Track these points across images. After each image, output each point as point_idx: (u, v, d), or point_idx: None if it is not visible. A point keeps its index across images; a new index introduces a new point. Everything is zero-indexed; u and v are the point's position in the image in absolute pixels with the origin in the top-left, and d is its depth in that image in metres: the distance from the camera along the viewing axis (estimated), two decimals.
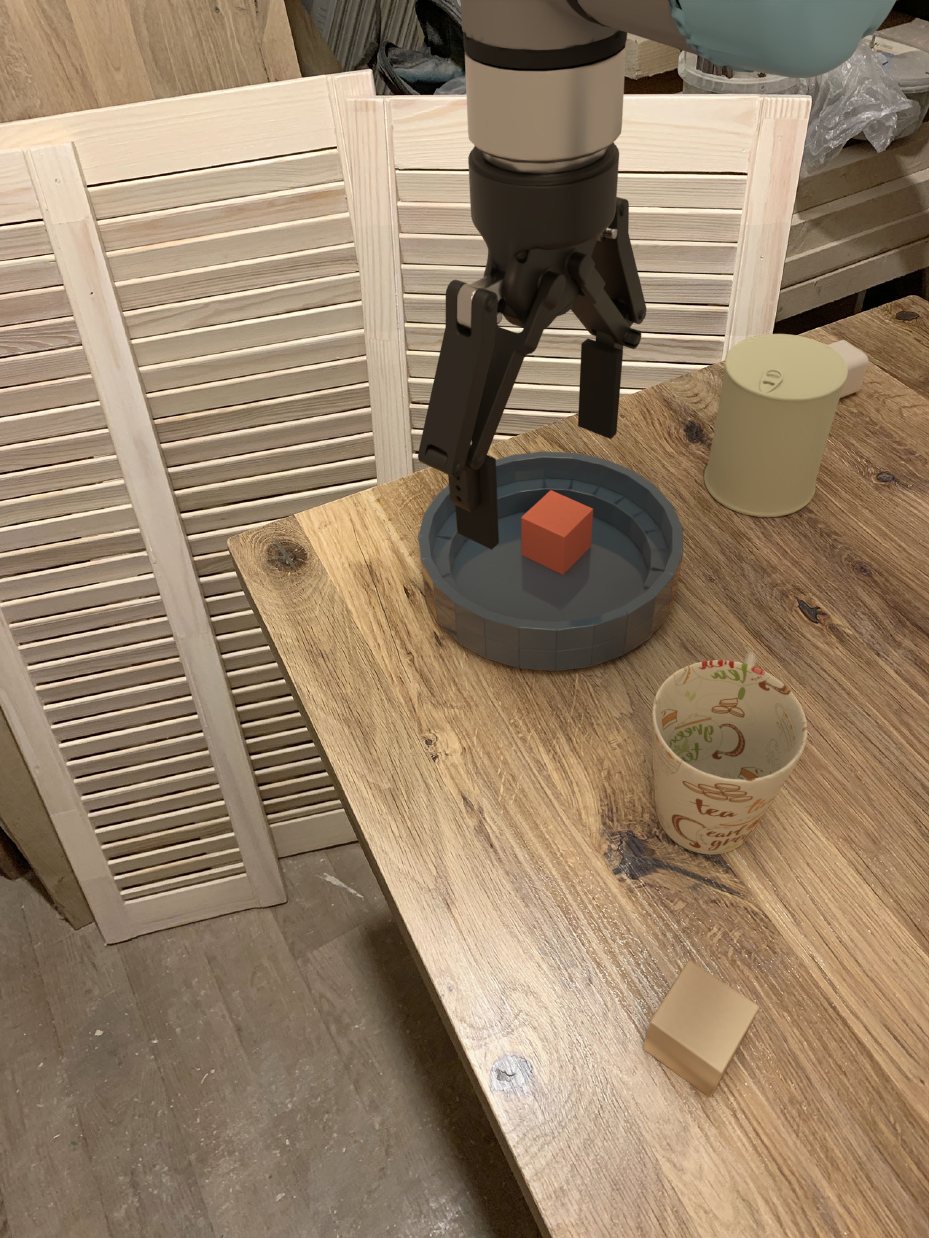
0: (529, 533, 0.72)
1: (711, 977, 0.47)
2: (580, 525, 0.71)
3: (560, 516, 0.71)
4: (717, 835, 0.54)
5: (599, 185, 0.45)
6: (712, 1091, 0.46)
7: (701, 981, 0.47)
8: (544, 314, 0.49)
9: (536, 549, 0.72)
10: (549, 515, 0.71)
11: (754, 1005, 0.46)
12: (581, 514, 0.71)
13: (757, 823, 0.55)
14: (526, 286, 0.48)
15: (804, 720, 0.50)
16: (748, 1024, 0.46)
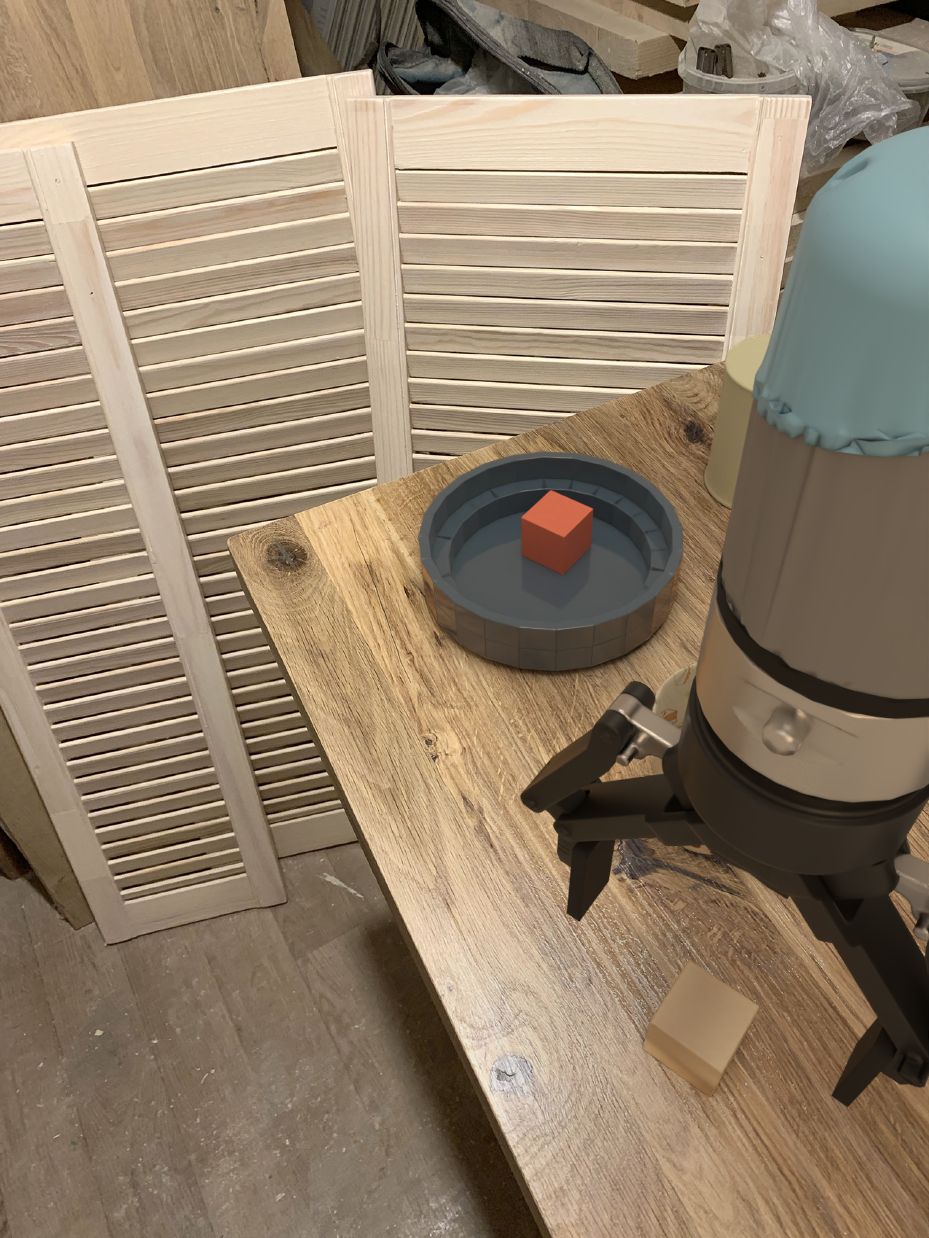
0: (529, 533, 0.72)
1: (711, 977, 0.47)
2: (580, 525, 0.71)
3: (560, 516, 0.71)
4: None
5: None
6: (712, 1091, 0.46)
7: (701, 981, 0.47)
8: None
9: (536, 549, 0.72)
10: (549, 515, 0.71)
11: (754, 1005, 0.46)
12: (581, 514, 0.71)
13: None
14: None
15: None
16: (748, 1024, 0.46)
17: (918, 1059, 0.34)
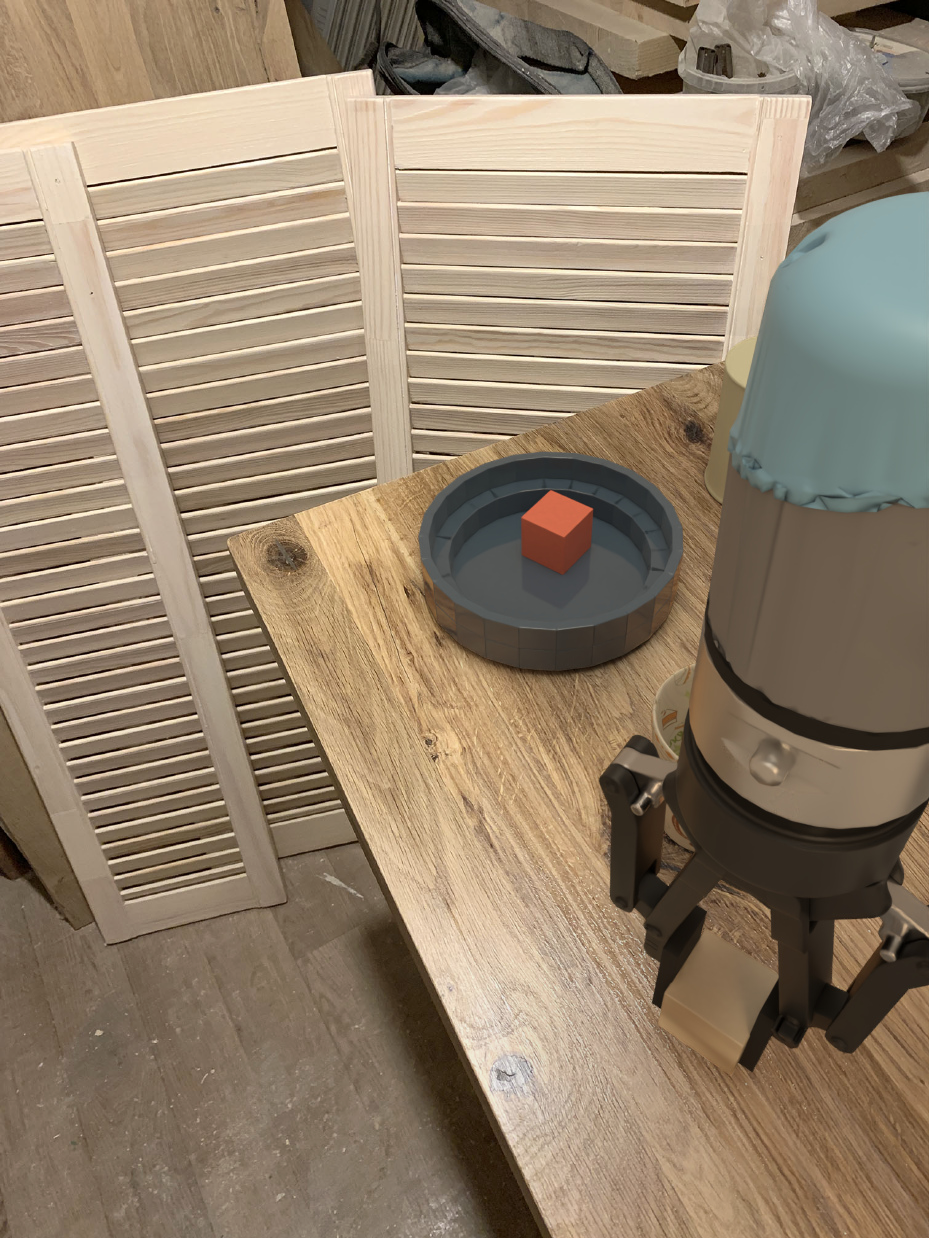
0: (529, 533, 0.72)
1: (730, 946, 0.44)
2: (580, 525, 0.71)
3: (560, 516, 0.71)
4: None
5: None
6: (732, 1068, 0.43)
7: (720, 951, 0.44)
8: None
9: (536, 549, 0.72)
10: (549, 515, 0.71)
11: (776, 976, 0.43)
12: (581, 514, 0.71)
13: None
14: None
15: None
16: None
17: (796, 1024, 0.38)
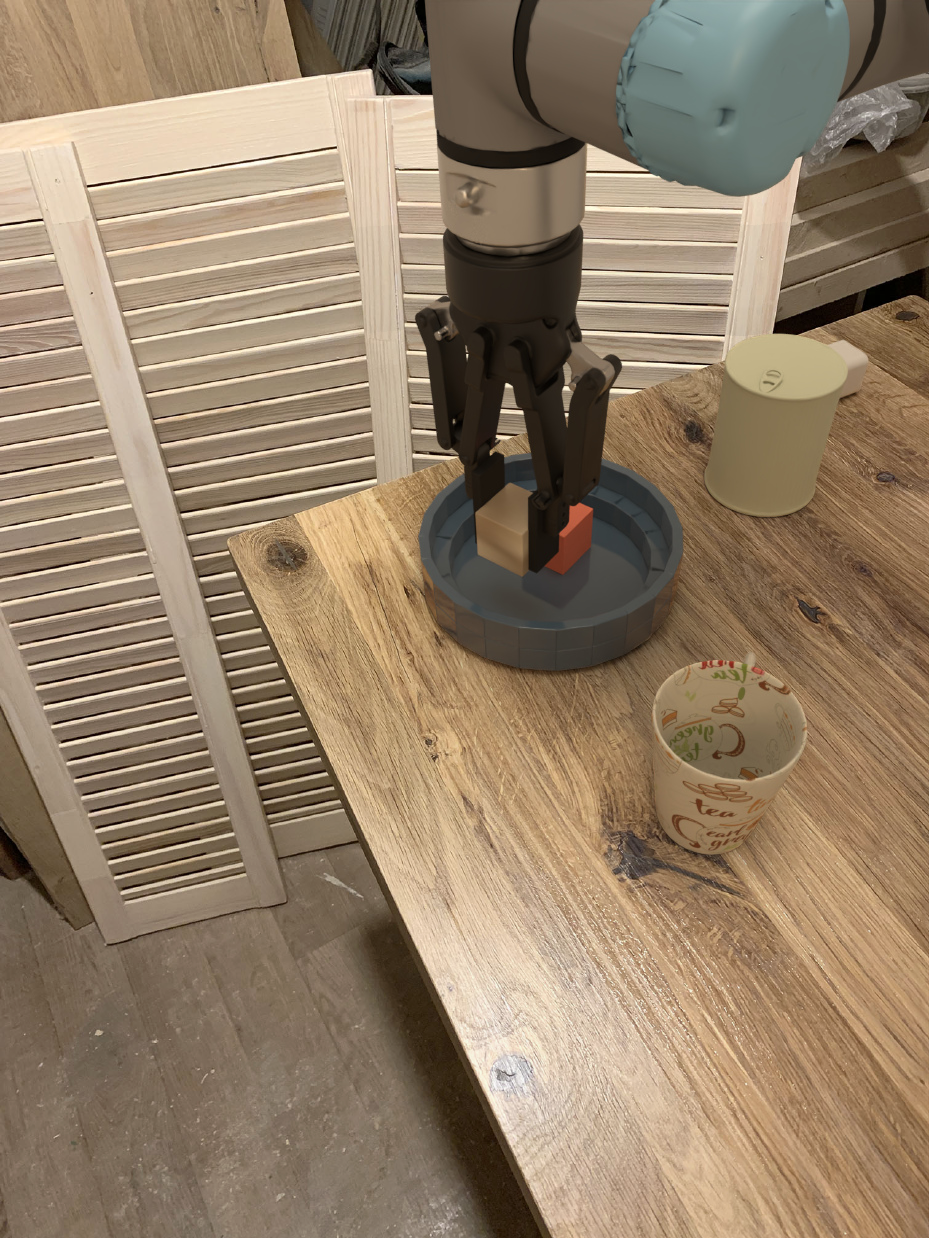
0: None
1: (523, 490, 0.65)
2: (580, 525, 0.71)
3: None
4: (717, 835, 0.54)
5: None
6: (521, 566, 0.64)
7: (516, 492, 0.65)
8: None
9: None
10: None
11: None
12: (581, 514, 0.71)
13: (757, 823, 0.55)
14: None
15: (804, 720, 0.50)
16: None
17: (547, 495, 0.59)
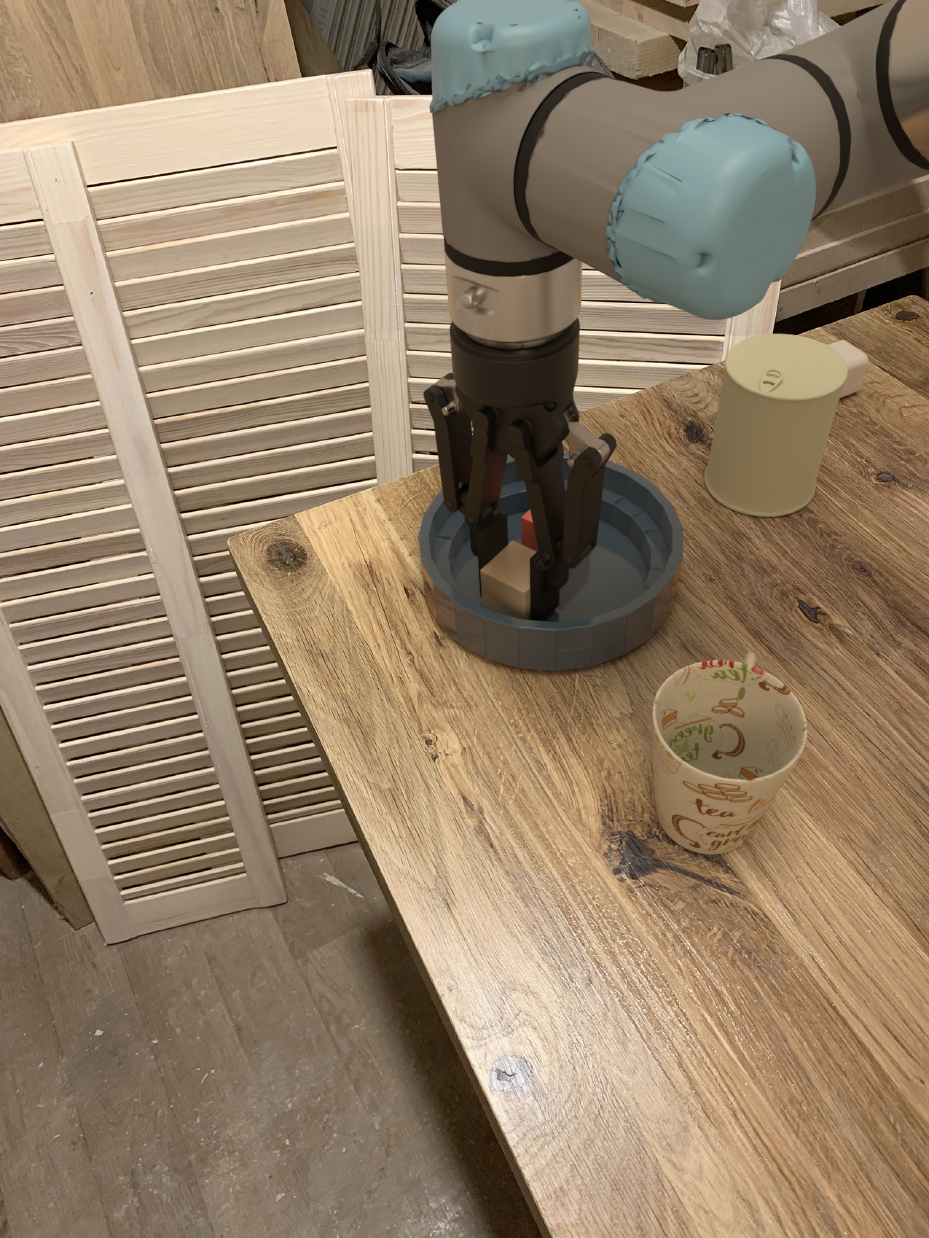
0: (529, 533, 0.72)
1: (525, 548, 0.69)
2: None
3: None
4: (717, 835, 0.54)
5: None
6: None
7: (519, 550, 0.68)
8: None
9: (536, 549, 0.72)
10: None
11: None
12: None
13: (757, 823, 0.55)
14: None
15: (804, 720, 0.50)
16: None
17: (547, 557, 0.62)
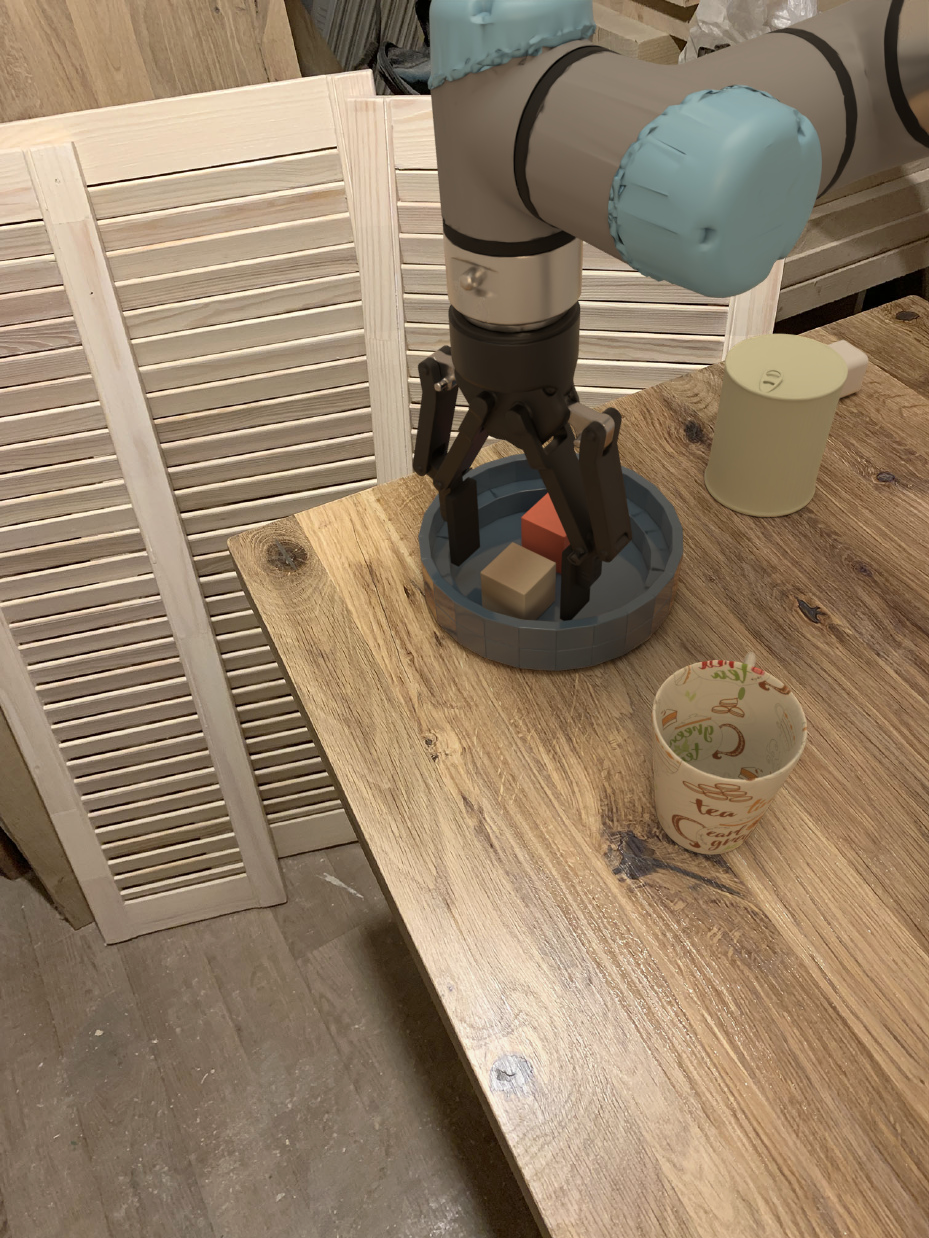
0: (529, 533, 0.72)
1: (525, 549, 0.69)
2: None
3: None
4: (717, 835, 0.54)
5: None
6: None
7: (519, 552, 0.69)
8: None
9: (536, 549, 0.72)
10: (549, 515, 0.71)
11: (552, 562, 0.68)
12: None
13: (757, 823, 0.55)
14: None
15: (804, 720, 0.50)
16: (546, 571, 0.67)
17: (581, 550, 0.60)
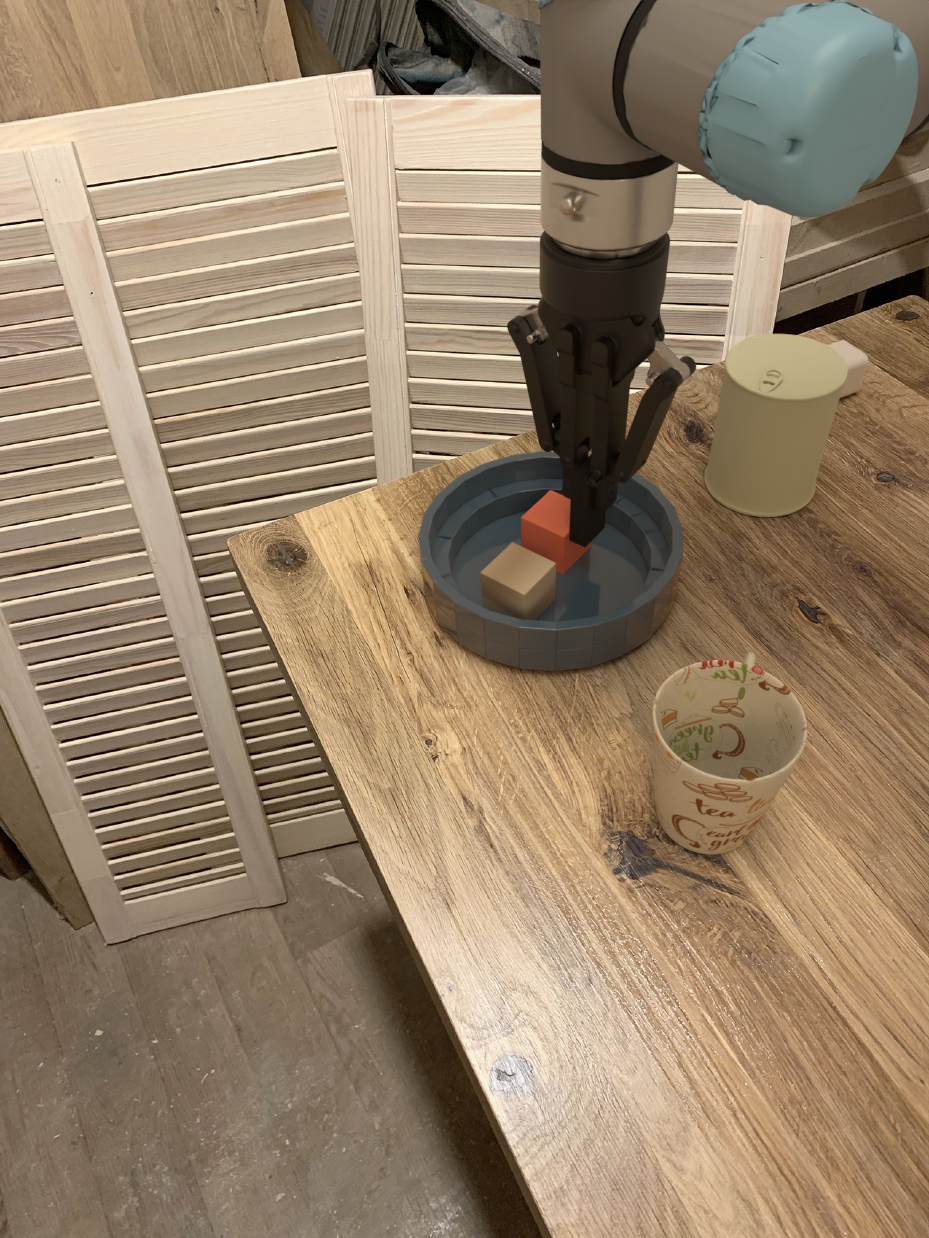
0: (529, 533, 0.72)
1: (525, 549, 0.69)
2: None
3: (560, 516, 0.71)
4: (717, 835, 0.54)
5: None
6: None
7: (519, 552, 0.69)
8: None
9: (536, 549, 0.72)
10: (549, 514, 0.71)
11: (552, 562, 0.68)
12: None
13: (757, 823, 0.55)
14: None
15: (804, 720, 0.50)
16: (546, 571, 0.67)
17: (599, 474, 0.64)
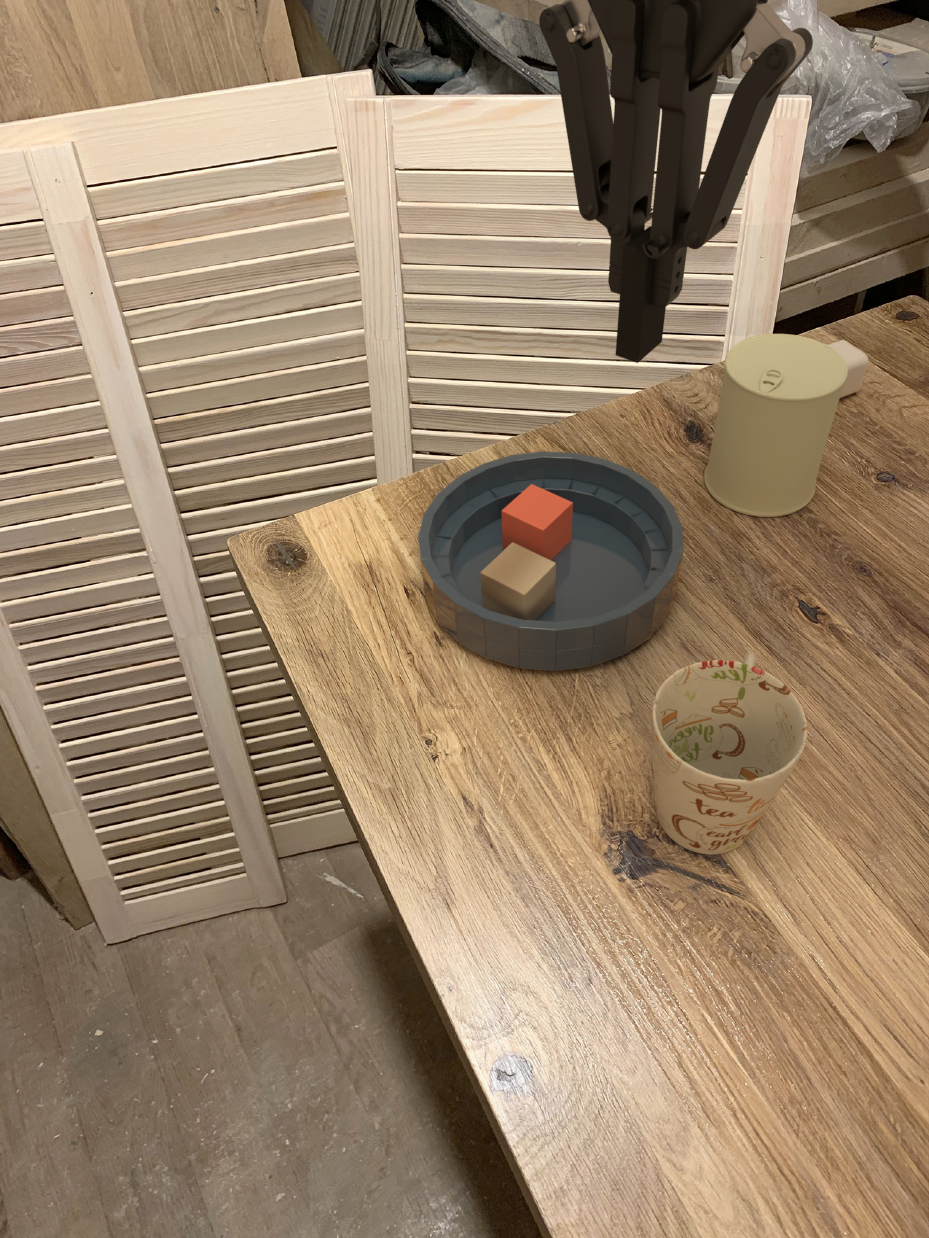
0: (509, 526, 0.72)
1: (525, 549, 0.69)
2: (560, 519, 0.72)
3: (540, 510, 0.72)
4: (717, 835, 0.54)
5: None
6: None
7: (519, 552, 0.69)
8: None
9: (516, 542, 0.73)
10: (529, 508, 0.72)
11: (552, 562, 0.68)
12: (561, 508, 0.72)
13: (757, 823, 0.55)
14: None
15: (804, 720, 0.50)
16: (546, 571, 0.67)
17: (663, 240, 0.47)
